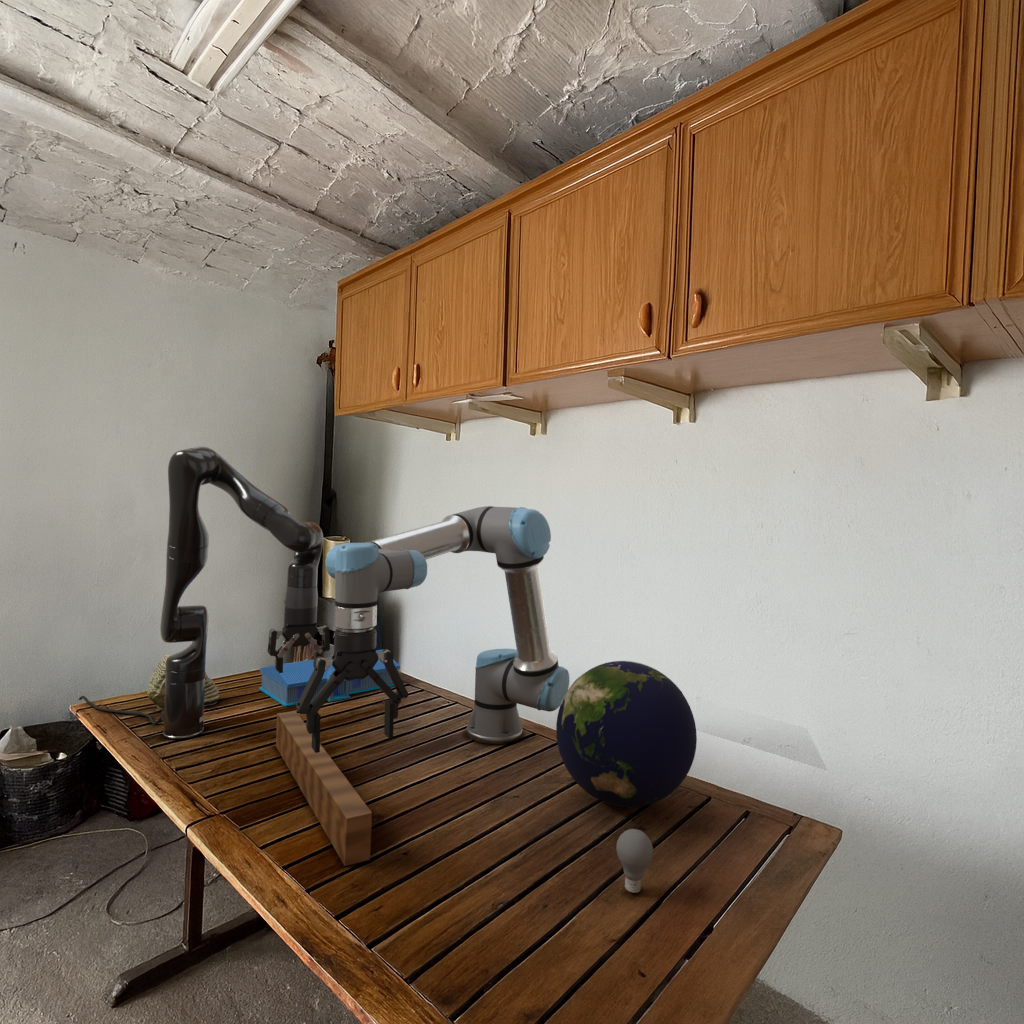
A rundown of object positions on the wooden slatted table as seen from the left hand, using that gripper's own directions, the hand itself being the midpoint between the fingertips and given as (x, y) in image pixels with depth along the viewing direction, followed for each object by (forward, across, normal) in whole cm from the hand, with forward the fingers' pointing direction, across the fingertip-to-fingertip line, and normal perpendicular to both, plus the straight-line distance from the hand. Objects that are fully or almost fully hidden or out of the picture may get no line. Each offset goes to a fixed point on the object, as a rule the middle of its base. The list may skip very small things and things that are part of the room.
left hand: (298, 670), depth 154 cm
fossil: (+22, -20, +49) cm, 57 cm away
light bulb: (+19, +35, -81) cm, 90 cm away
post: (+20, -1, -22) cm, 30 cm away
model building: (+22, +24, +48) cm, 58 cm away
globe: (+20, +56, -56) cm, 81 cm away
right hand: (+1, -1, -44) cm, 44 cm away
